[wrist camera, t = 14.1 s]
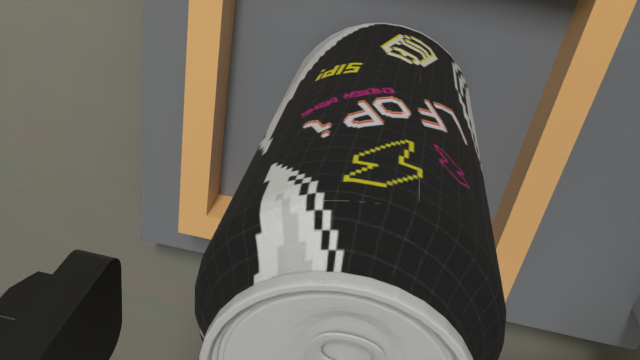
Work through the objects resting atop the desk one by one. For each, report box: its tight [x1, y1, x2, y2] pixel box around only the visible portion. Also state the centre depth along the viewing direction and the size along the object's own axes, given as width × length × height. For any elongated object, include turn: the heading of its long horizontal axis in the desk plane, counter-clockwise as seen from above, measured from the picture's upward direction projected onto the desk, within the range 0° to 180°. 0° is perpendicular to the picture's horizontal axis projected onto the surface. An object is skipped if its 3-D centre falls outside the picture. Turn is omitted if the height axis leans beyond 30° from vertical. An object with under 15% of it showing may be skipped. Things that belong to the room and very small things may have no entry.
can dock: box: [141, 0, 640, 350], centre depth 14 cm, size 20×16×18 cm
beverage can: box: [195, 23, 506, 360], centre depth 15 cm, size 6×6×12 cm
